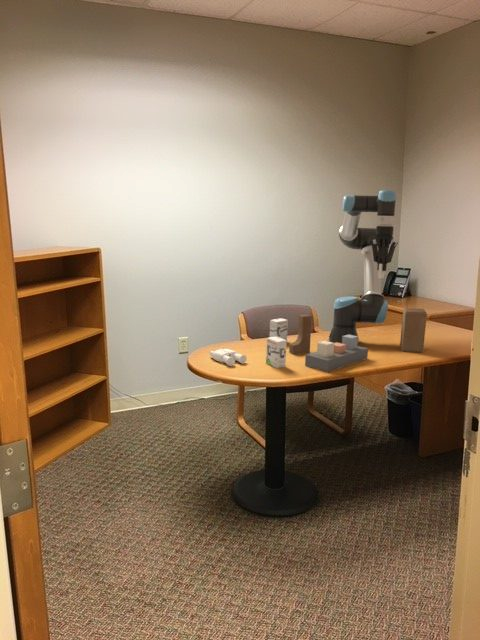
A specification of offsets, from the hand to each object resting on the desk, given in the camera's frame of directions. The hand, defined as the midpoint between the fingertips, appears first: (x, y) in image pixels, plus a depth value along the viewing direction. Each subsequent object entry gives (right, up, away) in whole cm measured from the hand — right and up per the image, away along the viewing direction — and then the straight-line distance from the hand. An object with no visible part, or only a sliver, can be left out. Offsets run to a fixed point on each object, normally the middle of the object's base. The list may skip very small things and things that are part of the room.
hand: (381, 277), depth 234 cm
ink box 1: (-45, -31, +27) cm, 61 cm away
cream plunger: (-28, -36, -13) cm, 47 cm away
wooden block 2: (+19, -34, +17) cm, 43 cm away
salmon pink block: (-21, -37, -7) cm, 43 cm away
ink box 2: (-49, -39, -12) cm, 64 cm away
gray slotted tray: (-22, -38, -6) cm, 44 cm away
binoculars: (-71, -38, -6) cm, 80 cm away
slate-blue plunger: (-15, -34, -1) cm, 37 cm away
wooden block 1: (-37, -35, +8) cm, 51 cm away
